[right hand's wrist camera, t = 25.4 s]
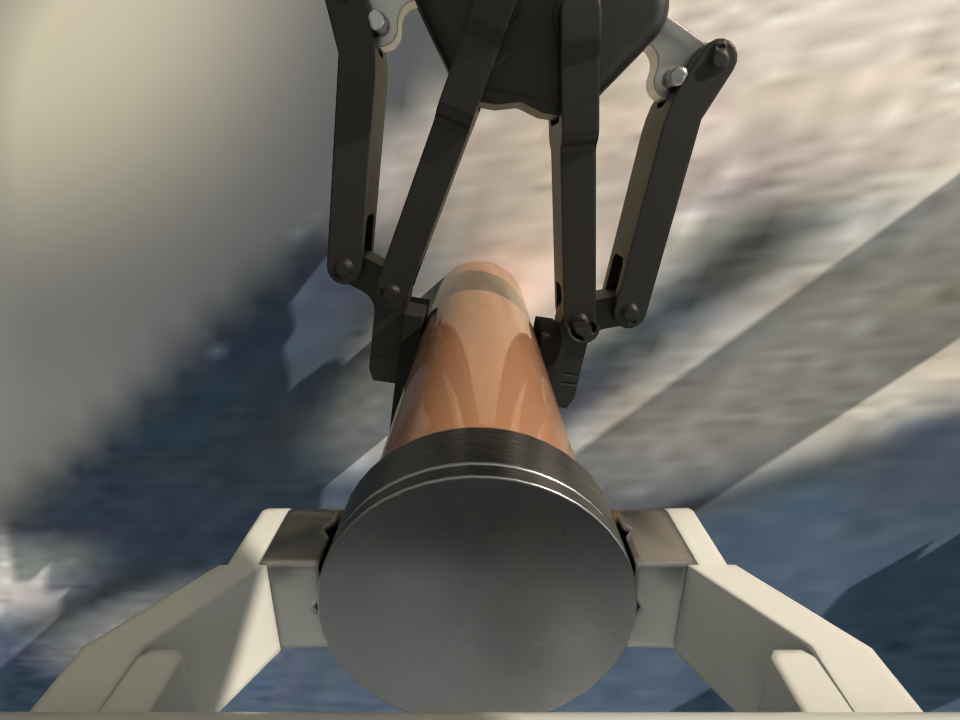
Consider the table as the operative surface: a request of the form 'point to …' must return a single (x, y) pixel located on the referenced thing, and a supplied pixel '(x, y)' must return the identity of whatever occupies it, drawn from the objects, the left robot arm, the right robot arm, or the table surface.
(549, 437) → the copper grooved cylinder
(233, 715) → the right robot arm
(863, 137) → the table surface
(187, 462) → the table surface
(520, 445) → the lid
